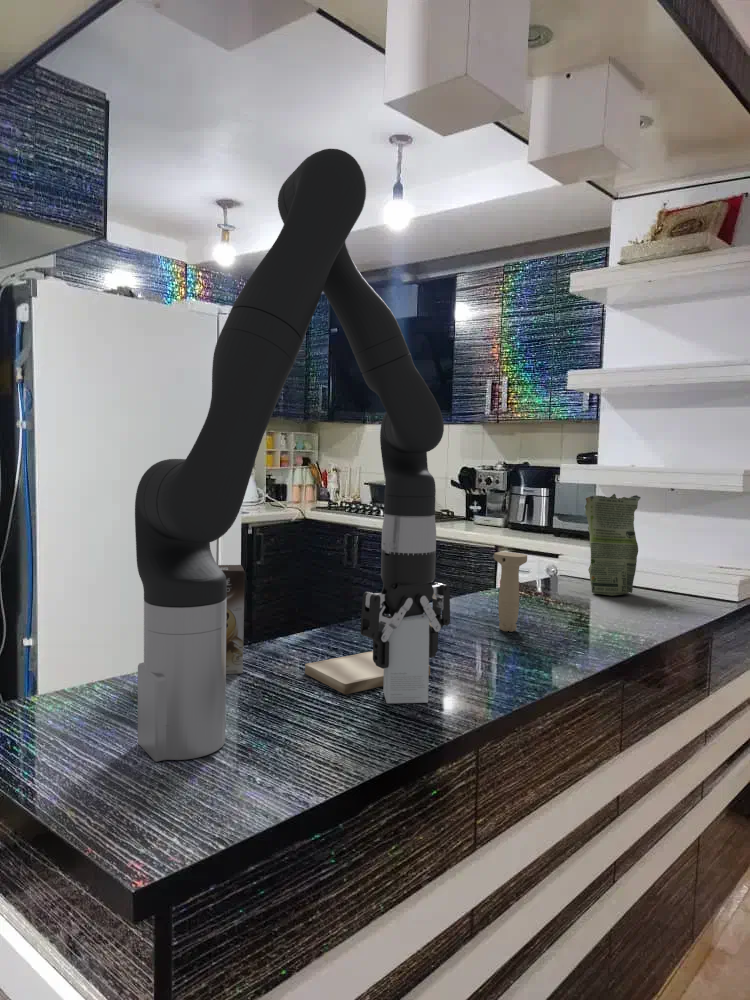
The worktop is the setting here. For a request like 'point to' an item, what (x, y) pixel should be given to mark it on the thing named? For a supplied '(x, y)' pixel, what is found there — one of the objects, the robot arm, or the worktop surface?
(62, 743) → the worktop surface
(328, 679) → the birch board
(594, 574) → the pouch
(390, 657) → the skincare box
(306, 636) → the worktop surface
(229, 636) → the coffee box
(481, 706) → the worktop surface
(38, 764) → the worktop surface
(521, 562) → the handle
